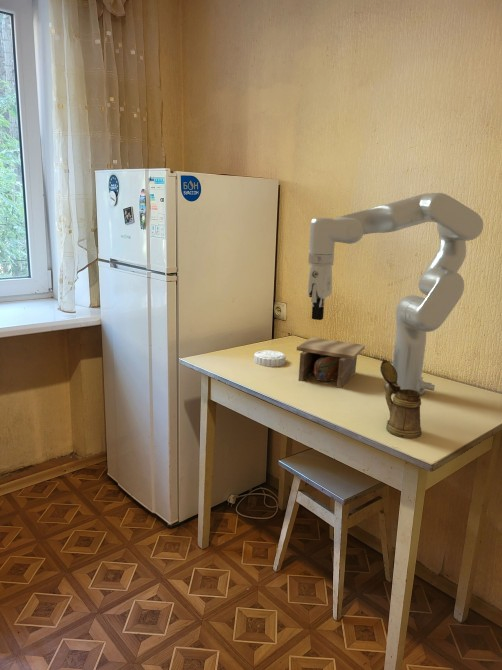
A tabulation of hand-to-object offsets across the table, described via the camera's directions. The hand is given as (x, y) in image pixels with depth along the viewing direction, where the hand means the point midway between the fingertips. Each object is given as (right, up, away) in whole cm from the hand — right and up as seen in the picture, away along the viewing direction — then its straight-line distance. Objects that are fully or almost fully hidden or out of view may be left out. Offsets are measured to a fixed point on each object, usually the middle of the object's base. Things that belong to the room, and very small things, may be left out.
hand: (317, 319), depth 159 cm
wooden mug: (+19, -31, -19) cm, 41 cm away
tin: (+7, -20, +19) cm, 29 cm away
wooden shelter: (+7, -20, +22) cm, 31 cm away
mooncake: (-14, -16, +37) cm, 42 cm away
